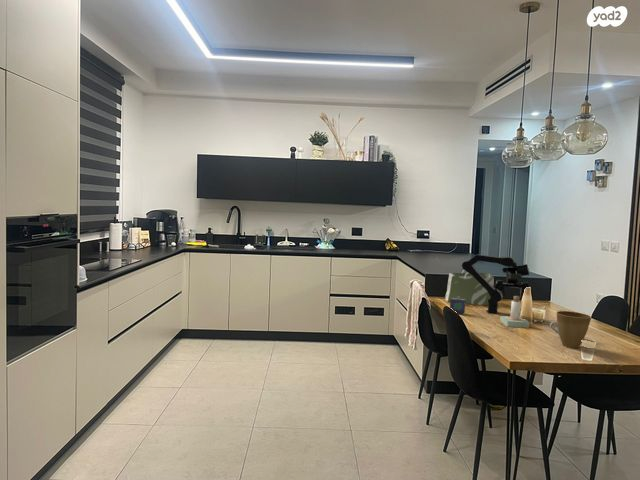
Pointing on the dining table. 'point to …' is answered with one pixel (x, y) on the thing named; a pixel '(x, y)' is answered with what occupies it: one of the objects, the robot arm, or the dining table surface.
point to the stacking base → (514, 322)
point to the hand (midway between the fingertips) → (512, 297)
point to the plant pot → (572, 327)
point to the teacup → (556, 328)
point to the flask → (458, 305)
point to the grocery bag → (468, 288)
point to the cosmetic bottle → (515, 308)
